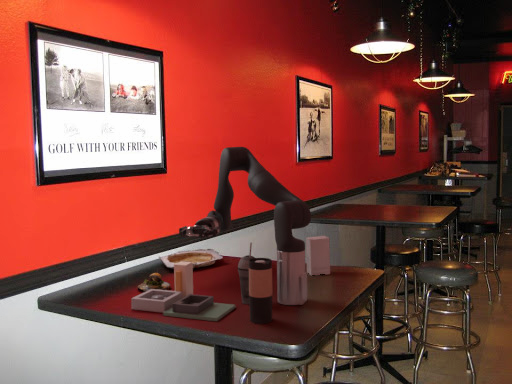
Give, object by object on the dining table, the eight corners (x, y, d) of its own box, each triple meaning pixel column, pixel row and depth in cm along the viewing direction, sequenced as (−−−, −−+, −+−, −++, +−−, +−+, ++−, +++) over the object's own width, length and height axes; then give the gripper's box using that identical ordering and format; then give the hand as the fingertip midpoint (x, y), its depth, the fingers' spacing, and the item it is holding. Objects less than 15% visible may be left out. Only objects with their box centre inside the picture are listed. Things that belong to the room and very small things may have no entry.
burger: (130, 290, 194) (130, 270, 194) (157, 284, 203) (156, 264, 202) (150, 296, 186) (150, 275, 186) (177, 289, 195) (176, 269, 194)
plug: (193, 296, 184) (192, 262, 183) (184, 301, 178) (183, 266, 177) (181, 295, 185) (181, 261, 184) (172, 300, 179) (171, 265, 178)
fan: (201, 298, 182) (201, 288, 182) (175, 314, 165) (175, 302, 165) (160, 294, 187) (160, 284, 187) (131, 309, 171) (131, 298, 170)
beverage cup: (247, 297, 181) (246, 239, 180) (264, 301, 177) (263, 241, 175) (233, 302, 176) (232, 242, 174) (250, 306, 171) (249, 245, 169)
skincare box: (325, 271, 218) (325, 235, 216) (330, 274, 212) (330, 237, 211) (305, 272, 216) (305, 236, 215) (310, 276, 210) (310, 238, 209)
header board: (235, 307, 170) (235, 297, 170) (216, 321, 157) (216, 309, 157) (185, 302, 177) (184, 292, 176) (163, 315, 164) (162, 304, 163)
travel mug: (253, 315, 162) (252, 257, 160) (275, 317, 160) (274, 258, 159) (246, 323, 155) (245, 262, 154) (269, 325, 153) (268, 263, 152)
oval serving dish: (235, 262, 238) (200, 254, 253) (234, 253, 237) (200, 246, 253) (178, 277, 215) (144, 268, 230) (178, 267, 214) (144, 258, 230)
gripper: (188, 217, 208) (173, 223, 192) (224, 218, 205) (211, 224, 189) (189, 236, 209) (174, 244, 193) (224, 237, 206) (212, 245, 190)
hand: (193, 234), depth 191 cm, fingers open, 8 cm apart
